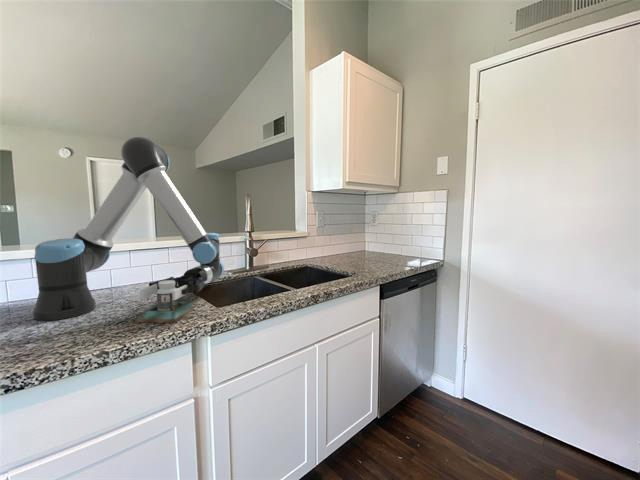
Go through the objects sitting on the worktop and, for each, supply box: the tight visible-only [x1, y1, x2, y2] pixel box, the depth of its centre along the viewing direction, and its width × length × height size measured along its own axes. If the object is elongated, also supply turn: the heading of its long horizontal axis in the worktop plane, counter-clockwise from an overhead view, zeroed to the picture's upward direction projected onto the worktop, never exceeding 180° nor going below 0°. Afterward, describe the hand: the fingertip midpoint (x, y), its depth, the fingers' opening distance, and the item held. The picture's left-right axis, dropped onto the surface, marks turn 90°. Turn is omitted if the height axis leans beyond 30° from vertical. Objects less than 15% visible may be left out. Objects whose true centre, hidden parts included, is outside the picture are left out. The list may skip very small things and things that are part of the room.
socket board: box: [135, 301, 192, 324], centre depth 90 cm, size 12×10×3 cm
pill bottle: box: [156, 280, 179, 311], centre depth 89 cm, size 6×6×10 cm
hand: (157, 294), depth 85 cm, fingers open, 9 cm apart
